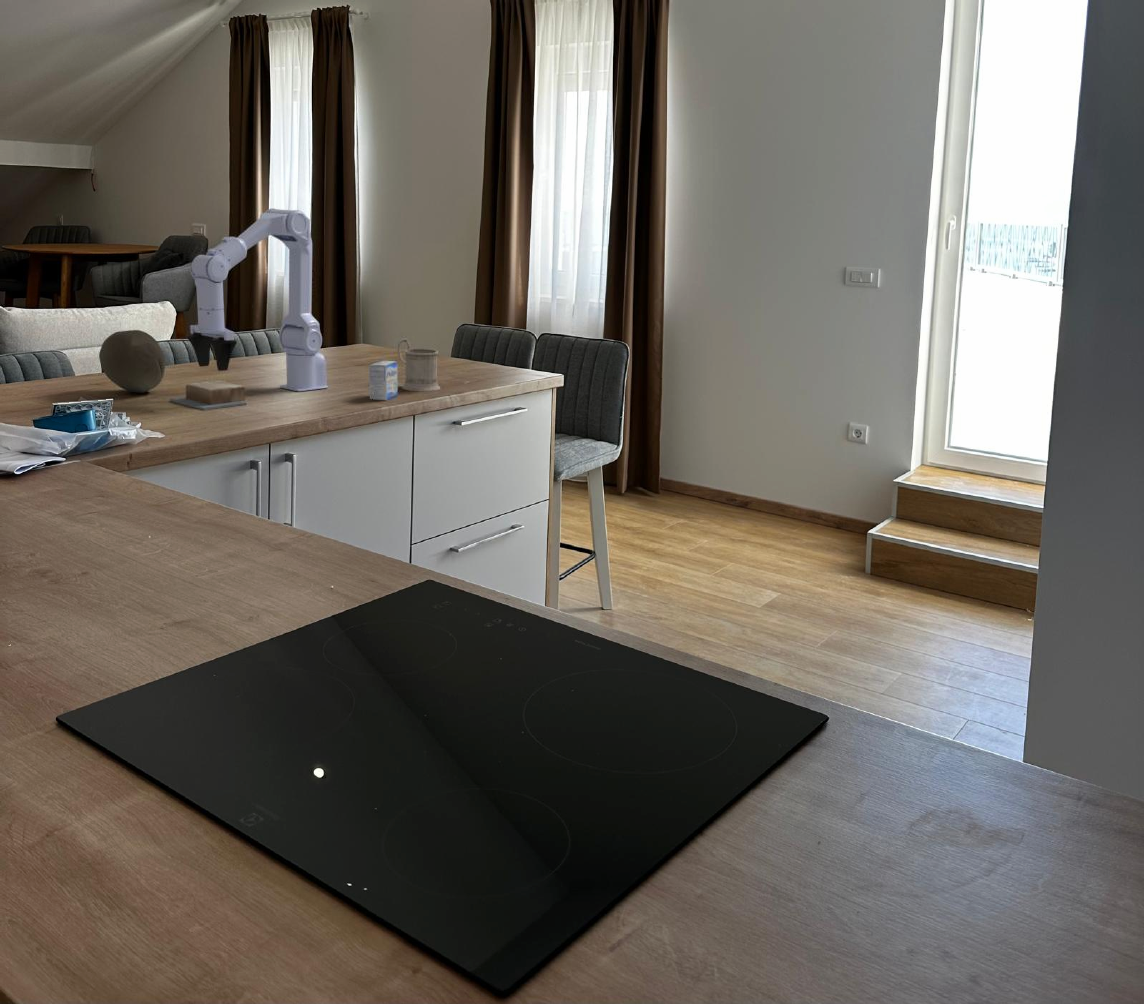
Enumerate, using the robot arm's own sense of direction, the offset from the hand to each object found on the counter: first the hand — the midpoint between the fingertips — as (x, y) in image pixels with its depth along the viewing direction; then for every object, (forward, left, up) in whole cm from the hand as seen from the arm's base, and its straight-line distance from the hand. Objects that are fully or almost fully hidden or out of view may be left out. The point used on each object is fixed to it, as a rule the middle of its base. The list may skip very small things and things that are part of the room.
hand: (213, 368), depth 256 cm
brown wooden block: (-5, 0, -6) cm, 7 cm away
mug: (-52, +12, -8) cm, 54 cm away
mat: (+2, 0, -8) cm, 8 cm away
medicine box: (-35, +19, -8) cm, 41 cm away
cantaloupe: (+8, -21, -8) cm, 24 cm away
